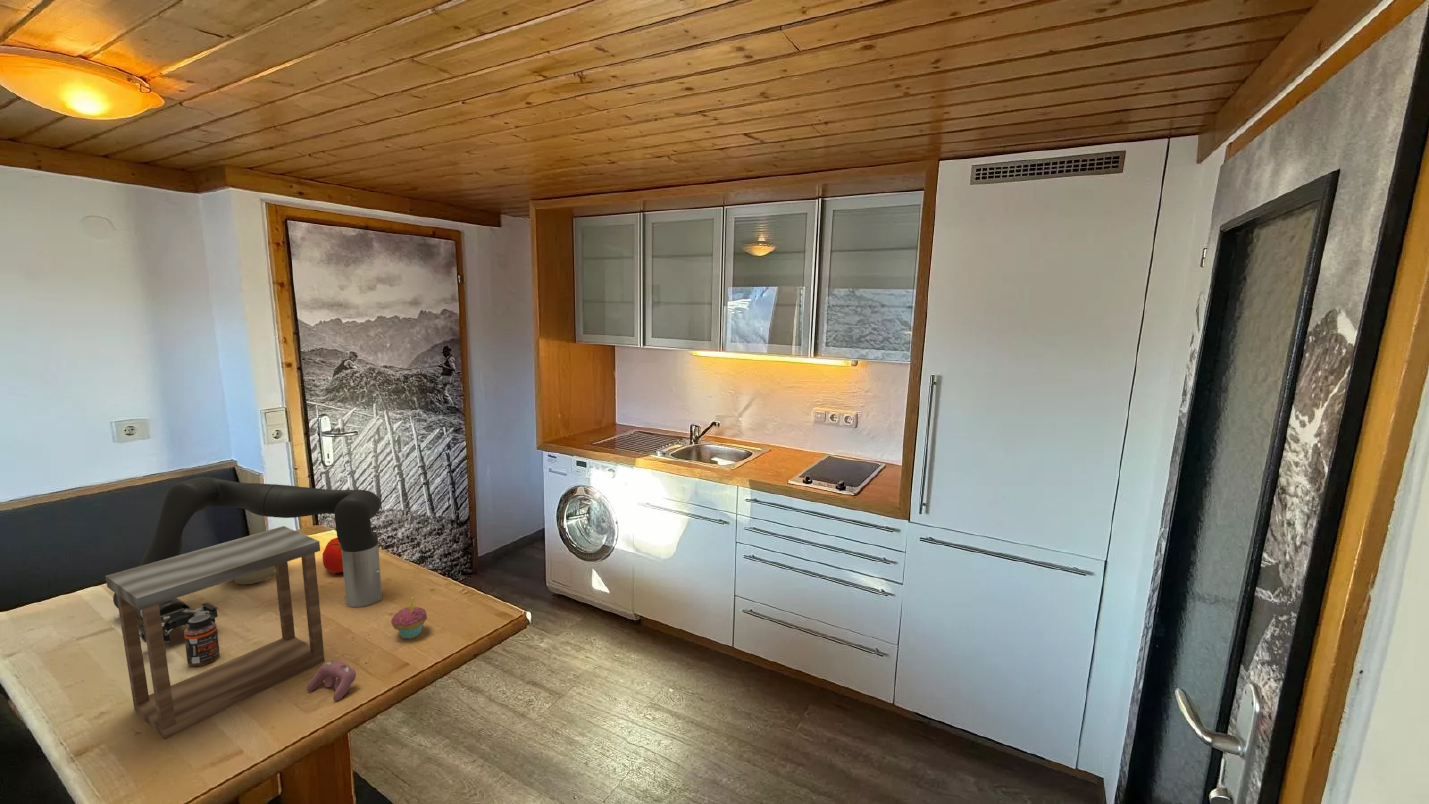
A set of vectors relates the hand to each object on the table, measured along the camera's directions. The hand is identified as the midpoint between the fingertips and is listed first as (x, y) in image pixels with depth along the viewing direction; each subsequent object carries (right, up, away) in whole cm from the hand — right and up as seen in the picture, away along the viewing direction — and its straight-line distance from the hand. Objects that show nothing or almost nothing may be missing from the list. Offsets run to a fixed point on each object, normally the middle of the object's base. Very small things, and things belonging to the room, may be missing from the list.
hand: (190, 630), depth 141 cm
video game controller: (+43, -10, -11) cm, 46 cm away
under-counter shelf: (+20, -8, -10) cm, 24 cm away
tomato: (+9, +1, +46) cm, 47 cm away
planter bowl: (-15, +1, +39) cm, 42 cm away
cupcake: (+49, -6, +11) cm, 51 cm away
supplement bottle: (+5, -7, -2) cm, 9 cm away
